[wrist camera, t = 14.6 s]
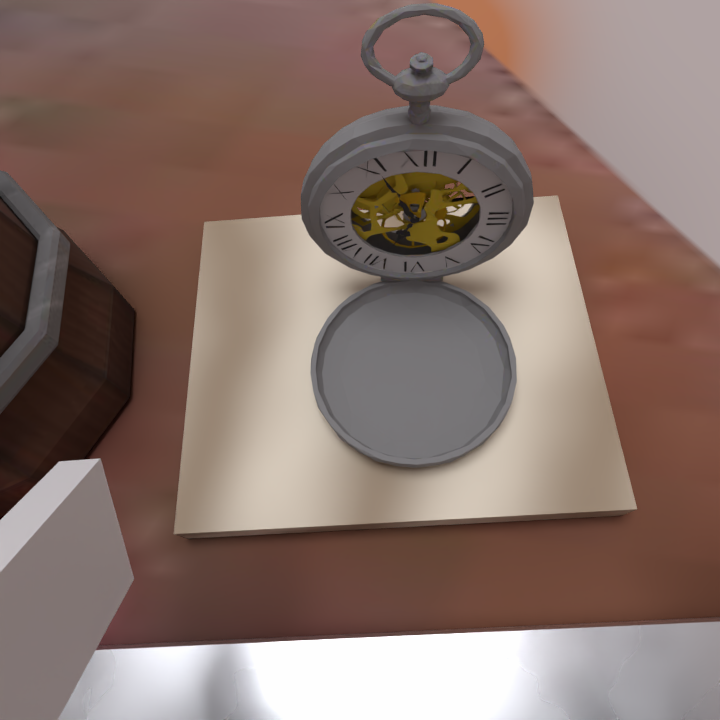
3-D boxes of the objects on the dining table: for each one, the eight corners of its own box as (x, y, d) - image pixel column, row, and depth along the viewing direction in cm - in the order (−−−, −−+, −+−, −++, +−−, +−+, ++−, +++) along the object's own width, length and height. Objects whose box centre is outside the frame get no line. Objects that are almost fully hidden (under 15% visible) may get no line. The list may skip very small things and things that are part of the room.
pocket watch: (381, 513, 16) (364, 395, 7) (257, 313, 20) (139, 60, 11) (590, 378, 18) (790, 140, 9) (442, 212, 21) (477, -87, 12)
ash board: (187, 538, 18) (173, 533, 17) (213, 240, 23) (204, 221, 22) (621, 515, 17) (636, 509, 16) (549, 215, 22) (557, 195, 21)
